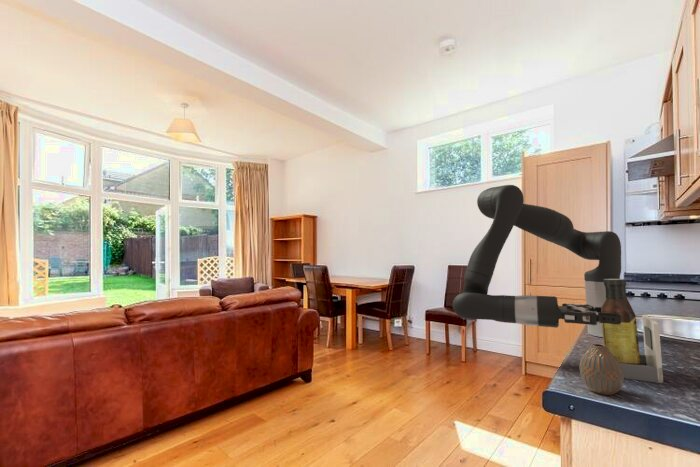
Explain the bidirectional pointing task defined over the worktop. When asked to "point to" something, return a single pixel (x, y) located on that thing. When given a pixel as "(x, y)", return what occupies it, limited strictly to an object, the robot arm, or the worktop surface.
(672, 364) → the worktop surface
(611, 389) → the vase
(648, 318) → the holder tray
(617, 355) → the sauce bottle
